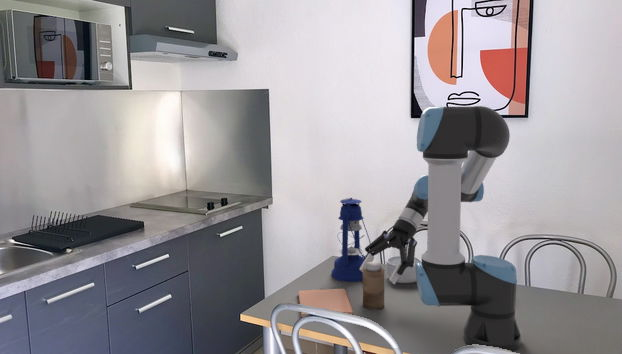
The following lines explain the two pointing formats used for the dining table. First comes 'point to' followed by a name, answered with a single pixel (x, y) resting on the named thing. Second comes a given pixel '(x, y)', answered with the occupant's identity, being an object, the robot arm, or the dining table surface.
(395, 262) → the ramekin
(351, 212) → the lantern
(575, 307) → the dining table surface
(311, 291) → the plate
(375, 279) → the pepper mill
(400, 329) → the dining table surface
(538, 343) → the dining table surface
